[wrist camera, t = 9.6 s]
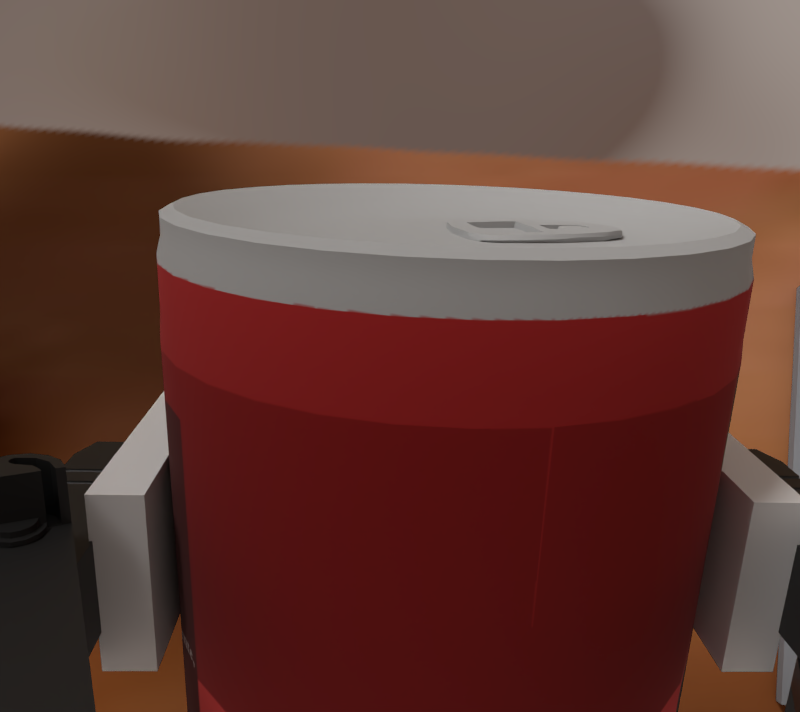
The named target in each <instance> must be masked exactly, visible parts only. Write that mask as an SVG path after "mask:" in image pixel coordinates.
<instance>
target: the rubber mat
mask: <svg viewBox="0 0 800 712" xmlns="http://www.w3.org/2000/svg"><path fill="white" fill-rule="evenodd" d="M788 467H789V468H790V469H791V470H793V471H794V472H795V473H796V474H797V475H799V479H800V286H799V287H798V288H797V295H796V315H795V335H794V354H793V374H792V394H791V413H790V433H789V453H788ZM796 659H797V655H796V654H795V653H794V651H793V650H792V649H791V648H790V646H789V645H788V644H787V643H786V641H785V640H784V639H783V638H782V636H780V641H779V650H778V670H777V689H776V701H777V702H779V703H780V704H781V705H786V703H787V699H788V694H789V690H790V686H791V681H792V677H793V672H794V668H795V664H796Z"/></svg>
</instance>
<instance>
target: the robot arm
mask: <svg viewBox="0 0 800 712" xmlns="http://www.w3.org/2000/svg"><path fill="white" fill-rule="evenodd" d="M179 614H180V600H179V586H178V573H177V559H176V545H175V532H174V518H173V504H172V491H171V477H170V464H169V450H168V436H167V423H166V409H165V396H164V391H163V393H162V394H161V395H160V397H159V398H158V399H157V400H156V402H155V403H154V404H153V406H152V407H151V408H150V410H149V411H148V412H147V413H146V415H145V416H144V417H143V419H142V420H141V421H140V423H139V424H138V425H137V427H136V428H135V429H134V430H133V432H132V433H131V434H130V436H129V437H128V438H127V440H126V441H125V442H96V443H94V444H92V445H91V446H89V447H87V448H85V449H83V450H81V451H79V452H77V453H76V454H74V455H73V456H72V457H71V459H70V460H69V461H68V462H67V463H66V464H65V465H64V464H63V463H62V461H61V460H60V459H57V458H54V457H52V456H49V455H41V454H17V455H7V456H3V457H0V712H96V711H95V704H94V696H93V688H92V680H91V672H90V664H89V655H90V653H91V652H92V650H93V648H94V646H95V644H96V642H97V640H98V638H99V644H100V654H101V663H102V671H158V669H159V666H160V663H161V661H162V658H163V656H164V653H165V651H166V648H167V645H168V643H169V640H170V638H171V635H172V633H173V630H174V627H175V625H176V622H177V620H178V617H179ZM693 628H694V629H695V631H696V633H697V634H698V636H699V637H700V639H701V640H702V642H703V644H704V645H705V647H706V648H707V650H708V651H709V653H710V655H711V656H712V658H713V659H714V661H715V662H716V664H717V666H718V667H719V669H720V670H721V672H773V668H774V663H775V659H776V654H777V650H778V645H779V641H780V636H782V638H783V639H784V640H785V641H786V643H787V644H788V645H789V646H790V648H791V649H792V650H793V651H794V653H795V654H796V655H797V659H796V664H795V668H794V672H793V677H792V681H791V686H790V690H789V694H788V699H787V703H786V707H785V712H800V479H799V475H797V474H796V473H795V472H794V471H793V470H791V469H790V468H789V467H788V466H786V465H785V464H784V463H783V462H781V461H779V460H777V459H775V458H773V457H771V456H769V455H767V454H765V453H763V452H760V451H758V450H756V449H747V448H746V447H744V446H743V445H742V444H741V443H740V442H739V441H737V440H736V439H735V438H734V437H733V436H732V435H731V434H729V433H728V438H727V443H726V449H725V454H724V460H723V465H722V471H721V476H720V482H719V487H718V493H717V498H716V504H715V509H714V515H713V520H712V526H711V531H710V537H709V542H708V548H707V553H706V559H705V564H704V570H703V576H702V581H701V587H700V592H699V598H698V603H697V609H696V614H695V620H694V625H693Z"/></svg>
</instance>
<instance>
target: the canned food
mask: <svg viewBox="0 0 800 712" xmlns="http://www.w3.org/2000/svg"><path fill="white" fill-rule="evenodd" d="M159 223H160V238H159V243H158V248H157V252H156V256H157V271H158V286H159V301H160V341H161V355H162V368H163V382H164V396H165V409H166V423H167V436H168V450H169V464H170V477H171V491H172V504H173V518H174V532H175V545H176V559H177V573H178V586H179V600H180V613H181V627H182V641H183V654H184V668H185V681H186V695H187V709H188V712H678V708H679V702H680V697H681V691H682V686H683V680H684V675H685V669H686V664H687V658H688V653H689V647H690V642H691V636H692V631H693V625H694V620H695V614H696V609H697V603H698V598H699V592H700V587H701V581H702V576H703V570H704V564H705V559H706V553H707V548H708V542H709V537H710V531H711V526H712V520H713V515H714V509H715V504H716V498H717V493H718V487H719V482H720V476H721V471H722V465H723V460H724V454H725V449H726V443H727V438H728V432H729V427H730V421H731V416H732V410H733V405H734V399H735V394H736V388H737V383H738V377H739V371H740V366H741V359H742V347H743V338H744V332H745V326H746V321H747V315H748V309H749V304H750V298H751V292H752V287H753V281H754V276H753V267H752V254H753V248H754V242H755V236H756V234H755V233H754V232H753V231H752V230H751V229H750V228H749V227H748V226H746V225H744V224H742V223H741V222H739V221H737V220H735V219H733V218H730V217H727V216H725V215H722V214H719V213H716V212H711V211H707V210H703V209H699V208H694V207H689V206H683V205H677V204H671V203H665V202H658V201H651V200H643V199H636V198H628V197H618V196H609V195H600V194H589V193H577V192H566V191H553V190H539V189H524V188H507V187H487V186H464V185H435V184H306V185H280V186H263V187H249V188H238V189H227V190H219V191H213V192H206V193H199V194H195V195H192V196H188V197H184V198H181V199H179V200H177V201H175V202H172V203H170V204H168V205H167V206H165V207H163V208H162V209H160V210H159Z"/></svg>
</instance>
